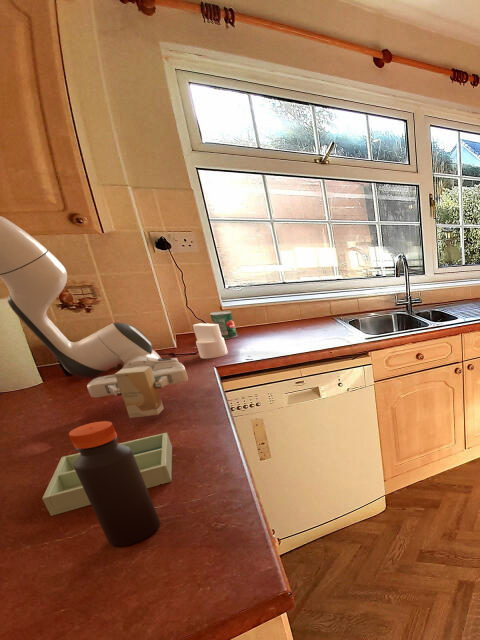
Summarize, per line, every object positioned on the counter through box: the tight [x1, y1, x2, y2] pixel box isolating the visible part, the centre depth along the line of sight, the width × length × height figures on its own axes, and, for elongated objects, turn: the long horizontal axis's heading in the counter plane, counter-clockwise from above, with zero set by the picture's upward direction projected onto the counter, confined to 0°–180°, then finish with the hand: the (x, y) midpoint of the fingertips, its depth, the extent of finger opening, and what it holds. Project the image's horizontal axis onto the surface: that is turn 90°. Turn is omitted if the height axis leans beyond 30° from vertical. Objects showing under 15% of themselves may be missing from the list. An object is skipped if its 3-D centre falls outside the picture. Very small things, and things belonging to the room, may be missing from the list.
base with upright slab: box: [192, 322, 229, 360], centre depth 162 cm, size 9×9×12 cm
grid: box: [41, 432, 173, 517], centre depth 86 cm, size 17×17×4 cm
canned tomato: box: [209, 310, 238, 340], centre depth 186 cm, size 8×8×11 cm
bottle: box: [67, 420, 161, 547], centre depth 68 cm, size 7×7×20 cm
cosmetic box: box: [114, 367, 165, 419], centre depth 108 cm, size 6×4×12 cm
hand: (139, 389), depth 107 cm, fingers closed on cosmetic box, 7 cm apart
